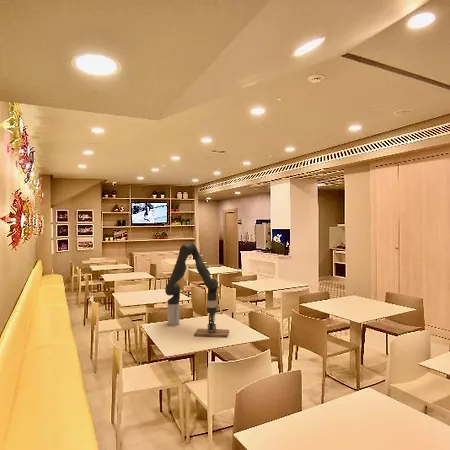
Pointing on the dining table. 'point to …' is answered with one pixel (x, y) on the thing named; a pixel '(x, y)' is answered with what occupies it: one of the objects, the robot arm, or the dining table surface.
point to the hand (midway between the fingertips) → (211, 328)
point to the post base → (211, 333)
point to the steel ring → (213, 327)
